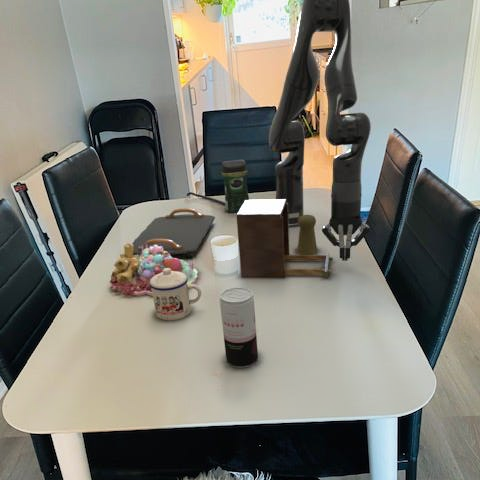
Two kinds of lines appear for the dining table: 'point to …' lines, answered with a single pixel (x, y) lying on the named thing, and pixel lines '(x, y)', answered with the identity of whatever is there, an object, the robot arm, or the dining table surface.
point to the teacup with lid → (172, 294)
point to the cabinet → (263, 238)
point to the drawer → (308, 258)
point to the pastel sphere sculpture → (146, 269)
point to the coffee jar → (235, 184)
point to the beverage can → (239, 326)
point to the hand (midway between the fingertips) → (344, 259)
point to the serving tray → (175, 232)
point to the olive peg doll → (307, 235)
